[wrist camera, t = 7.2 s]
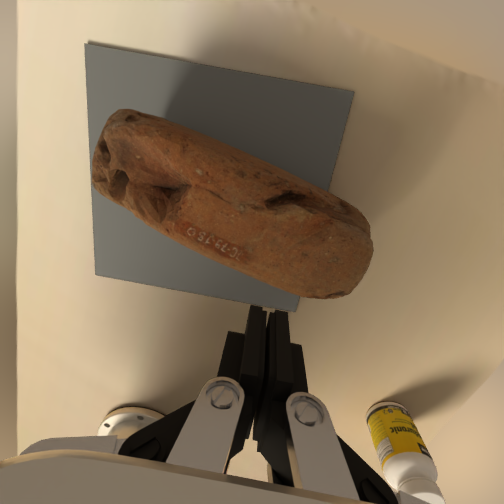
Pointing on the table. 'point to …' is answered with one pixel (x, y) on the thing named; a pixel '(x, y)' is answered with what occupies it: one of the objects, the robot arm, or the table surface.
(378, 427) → the supplement bottle
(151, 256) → the mat
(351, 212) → the block
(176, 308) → the table surface
